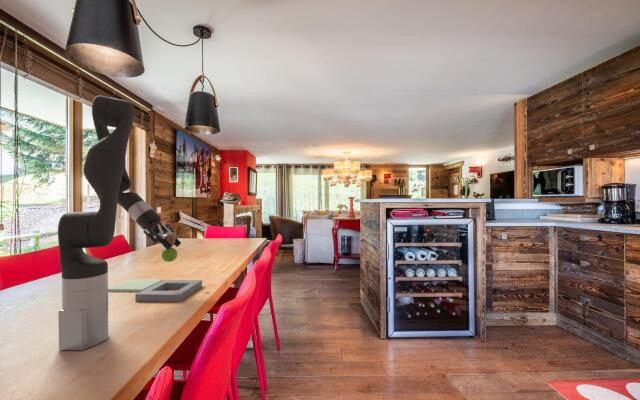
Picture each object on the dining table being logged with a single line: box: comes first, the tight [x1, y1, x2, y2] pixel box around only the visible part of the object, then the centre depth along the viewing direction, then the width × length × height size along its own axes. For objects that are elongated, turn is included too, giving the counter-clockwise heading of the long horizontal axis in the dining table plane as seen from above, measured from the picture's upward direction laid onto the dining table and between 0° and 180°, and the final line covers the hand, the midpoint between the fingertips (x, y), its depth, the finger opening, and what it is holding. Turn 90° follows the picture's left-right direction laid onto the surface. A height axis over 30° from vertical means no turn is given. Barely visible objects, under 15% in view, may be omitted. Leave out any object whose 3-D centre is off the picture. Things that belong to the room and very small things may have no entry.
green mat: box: [108, 278, 164, 293], centre depth 122 cm, size 14×14×1 cm
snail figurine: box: [161, 228, 178, 263], centre depth 113 cm, size 5×6×12 cm
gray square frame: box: [134, 279, 203, 303], centre depth 114 cm, size 18×16×2 cm
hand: (174, 246), depth 113 cm, fingers closed on snail figurine, 6 cm apart
